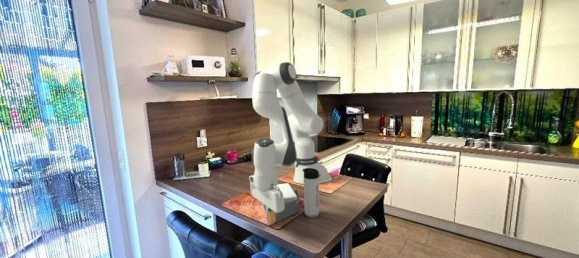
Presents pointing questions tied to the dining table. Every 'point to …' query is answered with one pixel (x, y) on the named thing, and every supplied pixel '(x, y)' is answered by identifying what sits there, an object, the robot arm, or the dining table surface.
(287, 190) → the white box with hole
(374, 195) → the dining table surface
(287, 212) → the side door
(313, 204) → the travel mug
